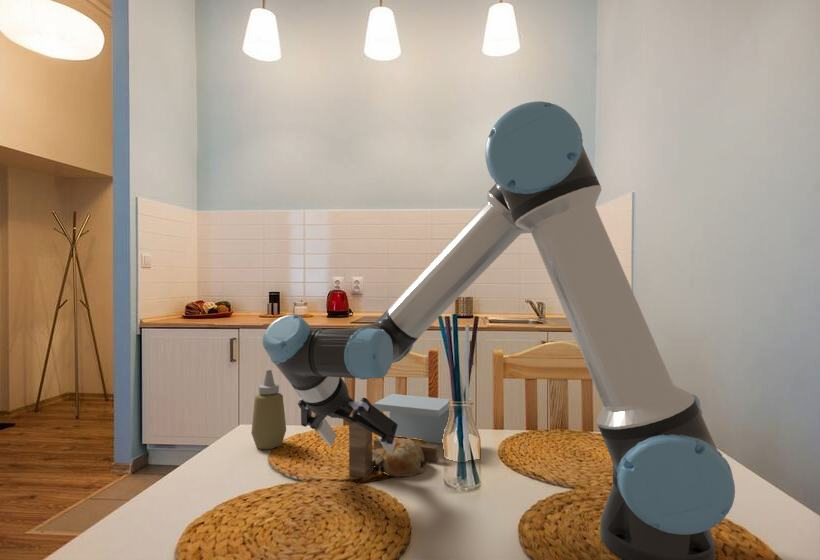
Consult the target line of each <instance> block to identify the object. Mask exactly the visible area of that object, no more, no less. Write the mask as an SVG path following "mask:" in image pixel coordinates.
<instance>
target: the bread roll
mask: <svg viewBox="0 0 820 560" xmlns="http://www.w3.org/2000/svg"><path fill="white" fill-rule="evenodd" d="M394 440H395V442H396V444H395V447H394V450H393V453H392V455H388V453H387V452H386V450H385V449H384V447H382V449H380V450H379V452H377V456H376V460H375V463H374V465H375V467H374V468H376V469H378V471H379V470H380V471H381V472H385V473H387V474H389V475H391V476H390V477H394V478H400V477H401V478H402V477H405V478H407V477H412V476H416V475H418V474H422V473H423V472H424V471H425V469H424V466H425V462H424V453H423V450H422V449H421V447H420V446H419V445H418V444H417V443H418V442H415V441H413V440H412V439H405V438H394ZM381 472H380V473H381ZM389 475H388V476H389Z"/></svg>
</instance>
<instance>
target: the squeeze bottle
mask: <svg viewBox="0 0 820 560" xmlns="http://www.w3.org/2000/svg"><path fill="white" fill-rule="evenodd" d="M286 432H287V423H286V414H285V403H284V395H283V394H282V393H280V384H278V383H275V380H274V375H273V373H272V369H266V370H265V375H264V379H263V383H262V384H259V386H258V394H257V395H255V397H254V404H253V414H252V423H251V436H252V438H253V441H254V444H255V447H256V448H257V449H259V450H272V449H276V448H275V447H277V448H279V447H281V446H282V444H283V441H284V439H285V435H286ZM280 445H281V446H280ZM278 446H279V447H278Z"/></svg>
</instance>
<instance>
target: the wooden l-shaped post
mask: <svg viewBox="0 0 820 560" xmlns="http://www.w3.org/2000/svg"><path fill="white" fill-rule="evenodd" d="M352 415H353V413H352V414H350V415H349V417H352ZM348 427H349V428H348V453H349V454H348V457H349V458H348V461H349V462H348V475H349V476H351V477H356V478H362V477H365V476H367V475H368V474H369V473H370V472H371V471H372V472H373V469H374V468H375V467H374V466H375V465H374V463H375V460H376V456H377V452H379V450H380V449H382V447H383V446H382V444H381V442H380V441H379V439H378V437H377V438H375V439H374V440H373V432H371V431H369V430H367V429H365V428H364V427H362V426H360V425H358V424H356V423H353V424H351V423H349V422H348ZM416 443H417V444H418V445H419V446H420V447H421V449H422V450H423V453H424V463H429V464H434V465H435V464H436V463H438V462H439V445H435V444H434V445H433V444H432V445H431V444H425V443H419V442H416ZM373 467H374V468H373ZM372 468H373V469H372ZM372 472H371V473H372ZM371 473H370V474H371ZM370 474H369V475H370ZM369 475H368V476H369ZM357 476H358V477H357ZM368 476H367V477H368ZM365 478H366V477H365Z"/></svg>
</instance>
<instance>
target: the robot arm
mask: <svg viewBox="0 0 820 560" xmlns="http://www.w3.org/2000/svg"><path fill="white" fill-rule="evenodd" d="M484 150H485V151H484V154H485V155H484V157H485V163H486V168H487V171H488V174H489V176H490V177H491V178H492V179H493V181H494V183H495V184H494V185H493V186H492V187H491V188H490V189H489V191H487V193H486V194H487V199H486V203H485V204H484V205H483V206H482V207H481V208H480V209H479V210H478V211H477V212H476V214H475V215H474V216H473V217H472V218H471V219H470V220H469V221H468V222H467V223H466V224H465V225H464V226H463V228H462V229H460V231H459V232H458V233H457V234H456V235H455V236H454V237H453V238H452V239H451V240H450V241H449V243H447V244H446V246H445V247H443V249H442V250H441V251H440V252H439V253H438V254H437V255H436V256H435V258H434V259H433V260H432V261H431V262H430V263H429V264H428V265H427V266H426V267H425V269H424V270H422V272H421V273H420V274H419V275H417V277H416V278H415V279H414V280H413V282H412V283H410V285H409V286H408V287H406V289H405V290H404V291H403V292H402V293H401V294H400V296H398V297H397V298H396V299H395V300H394V301H393V303H392V304H391V305H390V306H389V307H388V308H387V310H386V311H385V312H383V314H382V315H381V316H380V317H379V318H378V319H377V320H376V321H375V322H374V323H370V324H367V325H362V326H357V327H351V328H350V327H349V328H320V327H319V328H312V327H310V325H309V324H310V323H308V322H307V321H306V320H305V319H304V318H303V317H301V316H300V315H297V314H287V315H283V316H281V317H278V318H277V319H275V320H273V321H272V323H270V324H269V325H268V326H267V328H266V330H265V331H264V333H263V336H262V345H263V348H264V350H265V352H266V353H267V355H268V357H269V358H270V360H271V362H272V363H273V364H274V365H275V366H276V368H277V369H279V371H280V373H281V374H282V375H283V376H284V377H285V378H286V380H287V382H288V383H290V384H291V386H292V388H293V389H294V390H295V392H296V394H297V395H298V396H299V397H300V398H299V401H298V403H297V405H298V407H299V408H300V425H301V426H302V427H307V426H310V428H311V429H312V430H315V432H316V433H317V434H318V435H320V437H321V438H322V439H323V441H324V442H325V443H326V445H328V447H333V446H334V443H335V440H336V438H337V436H338V434H337V433H336V431H335V430H334V429H333V427H332V426H331V424H329V422H328V421H327V420H326V417H330V418H331V419H333V418H334V419H342V420H344V421H345V422H348V424H349V423H351V424H353V423H356V424H358V425H360V426H362V427H364V428H365V429H367V430H369V431H371V432H372V434H374V435H376V436H377V438H378V439H379V441H380V442H381V444H382V446H383V447H384V449H385V450H386V452H387V453H388V455H392V453H393V450H394V447H395V444H396V442H395V437H394V436H395V433H396V430H397V426H398V424H396V423H395V422H394V421H393V420H391V419H390V416H389V417H388V416H387V415H386V414H385V413H384V412H383V411H379V410H378V409H377V408H375V407H374V404H372V403H371V402H370V400H369V399H368V398H366V397H361V399H360V401H355V400H354V399H353V398H351V397H350V396H349V390H348V386H347V384H346V382H345V381H344V379H343V378H346V379H347V378H350V379H359V380H368V379H381V378H384V377H385V376H386V375H388V373H389V370H390V369H391V368H392V365H393V364H395V363H398V362H400V361H401V360H402V359H404V357H406V356H407V355H409V353H410V352H411V351H412V348H413V347H414V344H415V343H416V341H417V340H418V339H419V338H420V337H421V336H422V335H424V333H425V332H426V331H427V330H428V329H429V328H430V327H431V326H432V325H433V324H434V323H435V322H436V321H437V320H438V319H439V318H438V316H440V317H441V316H442V314H444V313H445V312H446V311H447V309H449V307H450V306H452V304H453V303H455V301H457V300H458V299H459V297H461V296H462V294H463V293H465V291H467V289H468V288H469V287H470V286H471V285H472V284H473V283H474V282H475V281H477V279H478V278H479V277H480V276H481V275H482V274H483V273H484V272H485V271H486V270H488V268H489V267H490V266H491V265H492V264H493V263H494V262H495V260H497V259H498V258H499V257H500V255H502V254H503V253H504V251H506V249H508V247H510V245H512V244H513V243H514V242H515V241H516V239H518V237H520V236H521V235H523V234H531V235H532V238H533V241H534V243H535V246H536V247H537V249H538V252H539V255H540V258H541V259H542V262H543V265H544V267H545V269H546V272H547V274H548V276H549V279H550V282H551V284H552V286H553V288H554V291H555V294H556V296H557V297H558V300H559V303H560V305H561V308H562V311H563V312H564V315H565V317H566V319H567V322H568V324H569V328H570V329H571V332H572V334H573V337H574V339H575V341H576V342H575V343H576V344H577V346H578V348H579V351H580V353H581V355H582V357H583V361H584V363H585V365H586V369H587V370H588V372H589V374H590V377H591V380H592V382H593V385H594V387H595V390H596V392H597V394H598V397H599V399H600V402H601V404H602V405H601V409H600V411H599V413H598V415H597V417H596V423H597V427H598V429H599V432H600V434H601V437H602V440H603V442H604V444H605V446H606V449H607V451H608V454H609V457H610V459H611V460H612V484H611V485H612V486H611V490H610V491H609V495H608V497H607V500H606V503H605V505H604V509H603V511H602V514H601V517H600V522H599V523H600V524H599V526H600V529H599V531H600V532H599V533H600V534H599V536H600V538H601V541H602V542H603V545H605V547H606V548H607V549H608V550H609V551H610V552H611V553H613V554H614V555H616V556H617V557H618V558H620V559H622V560H716V542H715V540H714V537H713V533H712V530H711V529H712V528H715V527H716V526H718V525H719V524H720V523H721V522H722V521H723V520H724V519H725V518H726V516H727V515H728V514H729V512H730V511H731V509H732V507H733V505H734V502H735V498H736V497H735V495H736V486H735V480H734V476H733V470H732V469H731V465H730V464H729V462H728V459H726V458H725V457H724V456H723V455H722V453H721V452H720V451H719V449H718V447H717V446H716V444H715V441H714V440H713V437H712V435H711V432H710V431H709V428H708V426H707V424H706V422H705V419H704V417H703V410H702V409H701V401H700V398H699V397H698V396H697V395H695V394H693V393H691V392H689V391H687V390H684V389H683V388H680V387H678V386H676V385H675V384H674V383H673V380H672V379H671V376H670V374H669V372H668V370H667V367H666V364H665V363H664V360H663V357H662V355H661V354H660V351H659V349H658V346H657V344H656V342H655V340H654V337H653V335H652V333H651V331H650V328H649V326H648V324H647V321H646V319H645V317H644V315H643V312H642V309H641V308H640V306H639V302H638V301H637V298H636V296H635V294H634V292H633V289H632V286H631V285H630V282H629V280H628V277H627V276H626V274H625V271H624V269H623V267H622V264H621V262H620V260H619V257H618V255H617V252H616V251H615V248H614V246H613V244H612V242H611V239H610V237H609V235H608V233H607V230H606V227H605V225H604V223H603V221H602V219H601V217H600V214H599V212H598V209H597V208H596V206H597V202H598V200H599V197H600V195H601V193H602V186H601V184H600V182H599V179H598V176H597V175H596V173H595V170H594V168H593V166H592V163H591V161H590V159H589V157H588V154H587V152H586V149H585V147H584V144H583V133H582V129H581V128H580V126H579V123H578V122H577V121H576V119H575V118H574V117H573V116H572V115H571V113H569V111H567V110H566V109H564V108H563V107H562V106H561V105H560V106H559V105H558V104H555V103H551V102H547V101H538V100H537V101H531V102H524V103H522V104H519V105H517V106H515V107H512V108H511V109H509V110H508V111H507V112H506V113H504V114H503V115H502V116H501V117H499V119H498V120H497V121H495V124H494V125H493V127H491V130H490V132H489V134H488V136H487V139H486V143H485V149H484ZM352 412H353V413H352ZM312 413H314V414H315V415H314V416H312ZM351 413H352V414H353V415H352V414H351ZM350 415H352V417H349V416H350Z"/></svg>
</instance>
